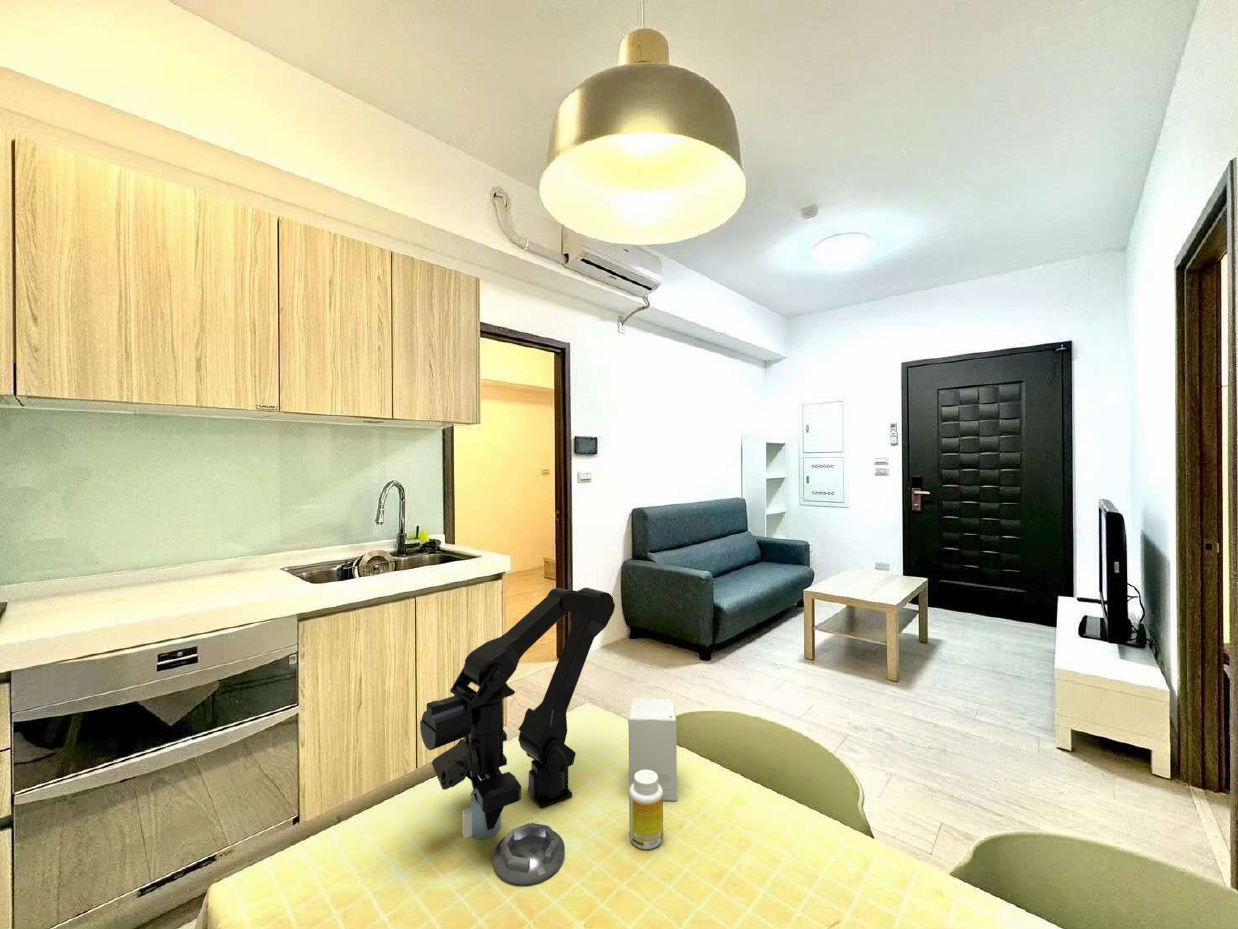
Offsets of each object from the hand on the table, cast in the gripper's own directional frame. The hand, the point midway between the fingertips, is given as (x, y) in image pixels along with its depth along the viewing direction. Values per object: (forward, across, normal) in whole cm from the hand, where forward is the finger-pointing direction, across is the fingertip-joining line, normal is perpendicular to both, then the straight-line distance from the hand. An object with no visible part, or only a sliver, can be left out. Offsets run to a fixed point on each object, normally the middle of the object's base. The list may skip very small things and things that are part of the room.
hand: (485, 819), depth 86 cm
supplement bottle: (+2, +16, +22) cm, 27 cm away
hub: (+2, +10, +4) cm, 11 cm away
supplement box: (+2, +5, +31) cm, 31 cm away
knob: (+2, 0, 0) cm, 2 cm away
